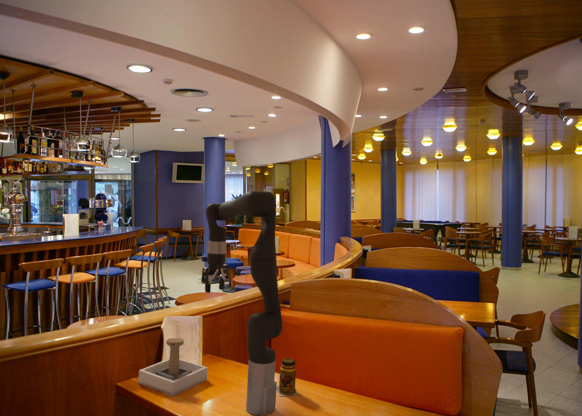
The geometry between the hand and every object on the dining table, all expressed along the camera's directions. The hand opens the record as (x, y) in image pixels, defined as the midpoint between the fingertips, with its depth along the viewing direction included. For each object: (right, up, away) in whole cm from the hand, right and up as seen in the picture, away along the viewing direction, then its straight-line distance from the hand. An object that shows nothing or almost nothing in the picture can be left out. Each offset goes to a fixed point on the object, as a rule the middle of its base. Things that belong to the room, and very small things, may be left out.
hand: (214, 291), depth 178 cm
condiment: (+30, -35, -15) cm, 48 cm away
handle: (-14, -32, -12) cm, 37 cm away
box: (-14, -33, -12) cm, 37 cm away
